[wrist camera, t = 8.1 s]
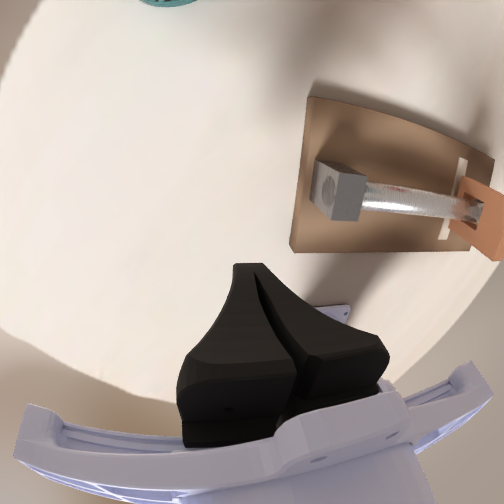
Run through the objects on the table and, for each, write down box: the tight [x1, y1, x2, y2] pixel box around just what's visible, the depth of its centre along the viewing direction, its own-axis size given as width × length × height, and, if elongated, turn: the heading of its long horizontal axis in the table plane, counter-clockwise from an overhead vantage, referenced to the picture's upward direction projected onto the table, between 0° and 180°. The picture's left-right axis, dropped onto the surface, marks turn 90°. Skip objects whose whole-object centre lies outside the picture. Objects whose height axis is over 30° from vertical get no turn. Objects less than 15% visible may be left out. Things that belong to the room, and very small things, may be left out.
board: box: [289, 97, 495, 253], centre depth 21 cm, size 12×24×2 cm, turn 86°
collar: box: [448, 176, 504, 261], centre depth 18 cm, size 6×2×7 cm, turn 176°
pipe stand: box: [309, 159, 484, 223], centre depth 19 cm, size 3×23×4 cm, turn 86°
